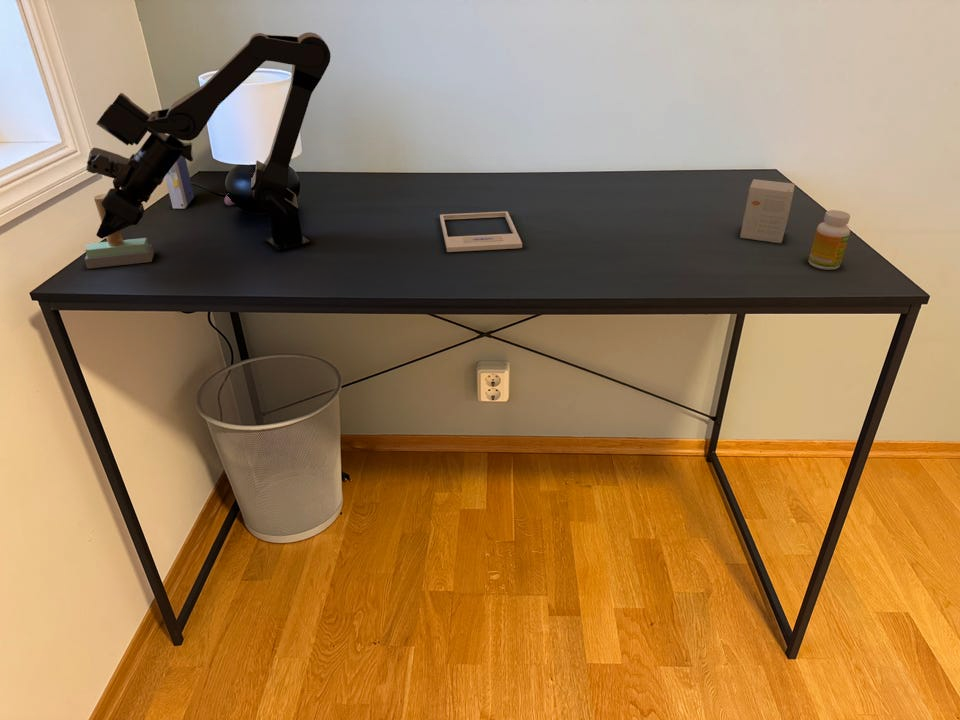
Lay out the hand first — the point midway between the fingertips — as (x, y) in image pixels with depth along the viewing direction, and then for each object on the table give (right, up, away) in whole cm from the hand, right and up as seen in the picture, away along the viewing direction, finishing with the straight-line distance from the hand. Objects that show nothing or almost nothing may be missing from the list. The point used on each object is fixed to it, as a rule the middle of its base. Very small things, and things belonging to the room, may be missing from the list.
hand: (103, 228), depth 125 cm
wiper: (+1, -5, +4) cm, 7 cm away
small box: (+125, +1, +13) cm, 126 cm away
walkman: (+1, +12, +31) cm, 34 cm away
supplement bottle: (+132, -7, +1) cm, 132 cm away
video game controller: (+15, +13, +33) cm, 38 cm away
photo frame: (+68, +2, +15) cm, 70 cm away
